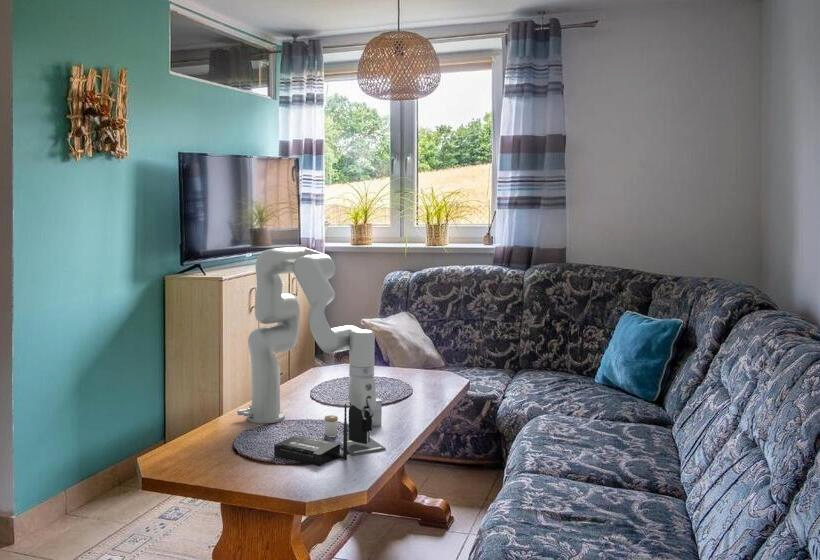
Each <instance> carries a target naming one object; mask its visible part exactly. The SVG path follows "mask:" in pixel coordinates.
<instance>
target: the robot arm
mask: <svg viewBox="0 0 820 560" xmlns="http://www.w3.org/2000/svg"><path fill="white" fill-rule="evenodd" d="M335 273H336V265H335V262H334V260H333V259H332V258H331V256H330V255H328V254H326V253H323V252H320V251H317V250H314V249H310V248H308V247H304V246H294V247H293V246H292V247H274V248H269V249H265V250H264V251H262V252H261V253H260V254H259V255H258V257H257V258H256V261H255V276H256V277H255V278H256V288H255V302H254V303H255V304H254V315H255V316H254V317H255V320H256V321H257V322H258V323H260V324H263V325H266V326H261V327H257V328H256V329H254V330H252V331H251V332H250V333H249V335H248V337H247V338H248V339H247V345H248V351H249V354H250V365H251V366H250V368H251V370H250V371H251V373H250V374H251V404H249V405H248V407H246V409H245V408H244V409H243V408H241V409H237V411H236V412H237V416H238V417H239V416H243V417H246V418H247V419H246V420H247V421H248V422H250V423H252V424H261V425H263V424H274V423H278V422H281V421H283V420H284V419H285V417H286V414H285V413H284V412H283V411H281V367H280V363H279V361H278V359H277V358H276V356H275V354H279V353H285V352H288V351H291V350H292V349H294V348H295V346H296V344H297V342H298V335H299V322H300V304H299V302H298V300H297V298H296V296H294V295H293V294H291V293H288V292H287V293H286V292H285V293H283V281H282V278H281V277H280V275H286V274H294V276H295V277H296V280H297V282H298V284H299V286H300V288H301V289H302V291H303V294H304V295H305V297H306V299H307V301H308V303H309V305H310V309H309V313H308V324H309V325H308V326H309V330H310V332H311V335H312V336H313V339H314V340H315V342H316V344H317V346H318V348H319V349H321V350H322V351H323V352H324V353H326V354H337V353H340V352H344V351H345V352H346V351H349V352H348V354H349V355H348V356H349V358H348V359H349V361H348V363H349V365H348V369H349V370H348V371H349V372H348V376H349V383H348V401H349V407H350V406H351V405H354V406H355V407H357V408H358V409H360V410H361V411H362V416H363V419H362V429H361V431H362V432H369V433H370V432H372V431H373V429H372V428H373V427H372V418H373V414H374V411H375V408H376V397H377V394H376V393H377V392H376V383H375V344H376V337H375V332H374V331H373V330H371V329H364V328H360V327H357V326H355V325H350V324H347V325H342V326H341V325H340V326H336V327H331V326H330V324H329V323H328V320H327V318H326V314H325V310H326V307H327V306H328V305H329V304H331V303H332V301H333V300H334V299H335V297H336V293H335V290H334V288H333V287H332V284H331V283H330V282H329V281H330V280H329V279H332V278H333V277H334V275H335ZM276 323H277V324H276ZM269 324H275V325H269ZM267 325H268V326H267ZM364 407H368V408H366V409H364ZM365 411H368V412H367V413H366V415H365Z"/></svg>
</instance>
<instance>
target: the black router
mask: <svg viewBox="0 0 820 560" xmlns="http://www.w3.org/2000/svg"><path fill="white" fill-rule="evenodd" d="M347 410H348V409H347V403H345V404H344V418H343V432H342V433H343V436H342V437H343V439H342V442H343V448H342V450H343V452H342V453H343V454H341V447H340V444H338V443H337V442H333V441H327V440H322V439H319V438H312V437H308V436H302V435H296V434H294V435H292V436H290V437H288V438H287V439H284V440H282V441H280V442H278V443H276V444H274V446H273V450H274V451H273V454H274V455H273V457H274V456H277V457H276V458H279V457H281V459H283V458H286V459H285V460H288V459H290V460H289V461H292V460H295V461H294V462H297V461H298V463H303V464H307V465H310V466H311V465H312V466H316V467H321V466H323V465H325V464H327V463H329V462H330V461H333V460H334V459H340V460H343V461H345V462H346V461H348V452H347V441H348V423H347V422H348V421H347Z"/></svg>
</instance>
